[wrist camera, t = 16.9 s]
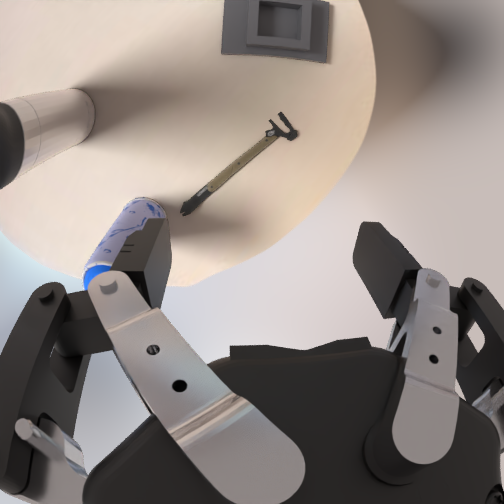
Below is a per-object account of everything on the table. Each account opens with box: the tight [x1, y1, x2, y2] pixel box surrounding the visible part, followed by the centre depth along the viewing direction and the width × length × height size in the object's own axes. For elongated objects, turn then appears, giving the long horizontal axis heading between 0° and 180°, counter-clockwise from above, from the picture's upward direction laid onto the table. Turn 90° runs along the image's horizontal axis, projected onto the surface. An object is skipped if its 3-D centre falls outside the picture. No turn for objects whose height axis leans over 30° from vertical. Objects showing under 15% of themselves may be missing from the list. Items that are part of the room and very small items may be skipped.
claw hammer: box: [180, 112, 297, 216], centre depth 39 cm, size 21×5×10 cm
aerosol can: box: [82, 197, 167, 290], centre depth 35 cm, size 8×8×20 cm
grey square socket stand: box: [221, 0, 329, 63], centre depth 27 cm, size 14×10×4 cm
